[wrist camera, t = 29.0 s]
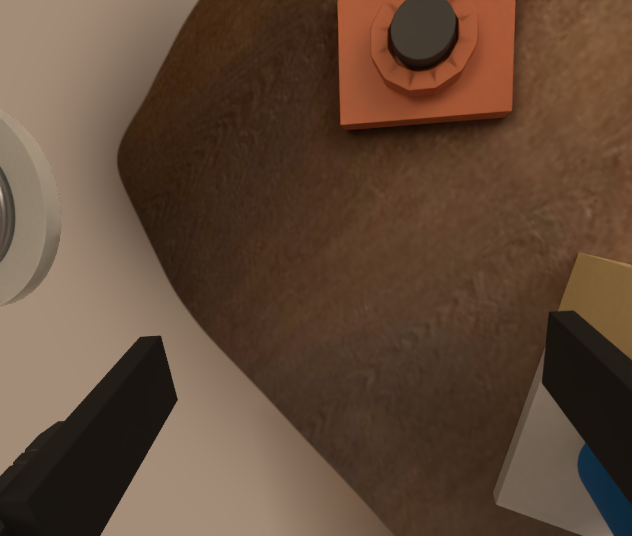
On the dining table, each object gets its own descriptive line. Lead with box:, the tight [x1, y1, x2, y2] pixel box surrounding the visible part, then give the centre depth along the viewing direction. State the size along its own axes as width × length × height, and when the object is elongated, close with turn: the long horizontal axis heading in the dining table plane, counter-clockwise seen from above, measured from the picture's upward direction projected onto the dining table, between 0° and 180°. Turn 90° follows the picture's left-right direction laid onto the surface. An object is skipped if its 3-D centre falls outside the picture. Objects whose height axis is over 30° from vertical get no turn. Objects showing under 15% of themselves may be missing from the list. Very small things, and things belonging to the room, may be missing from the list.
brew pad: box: [337, 0, 515, 130], centre depth 29 cm, size 12×10×4 cm
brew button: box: [391, 0, 456, 68], centre depth 27 cm, size 4×4×2 cm
